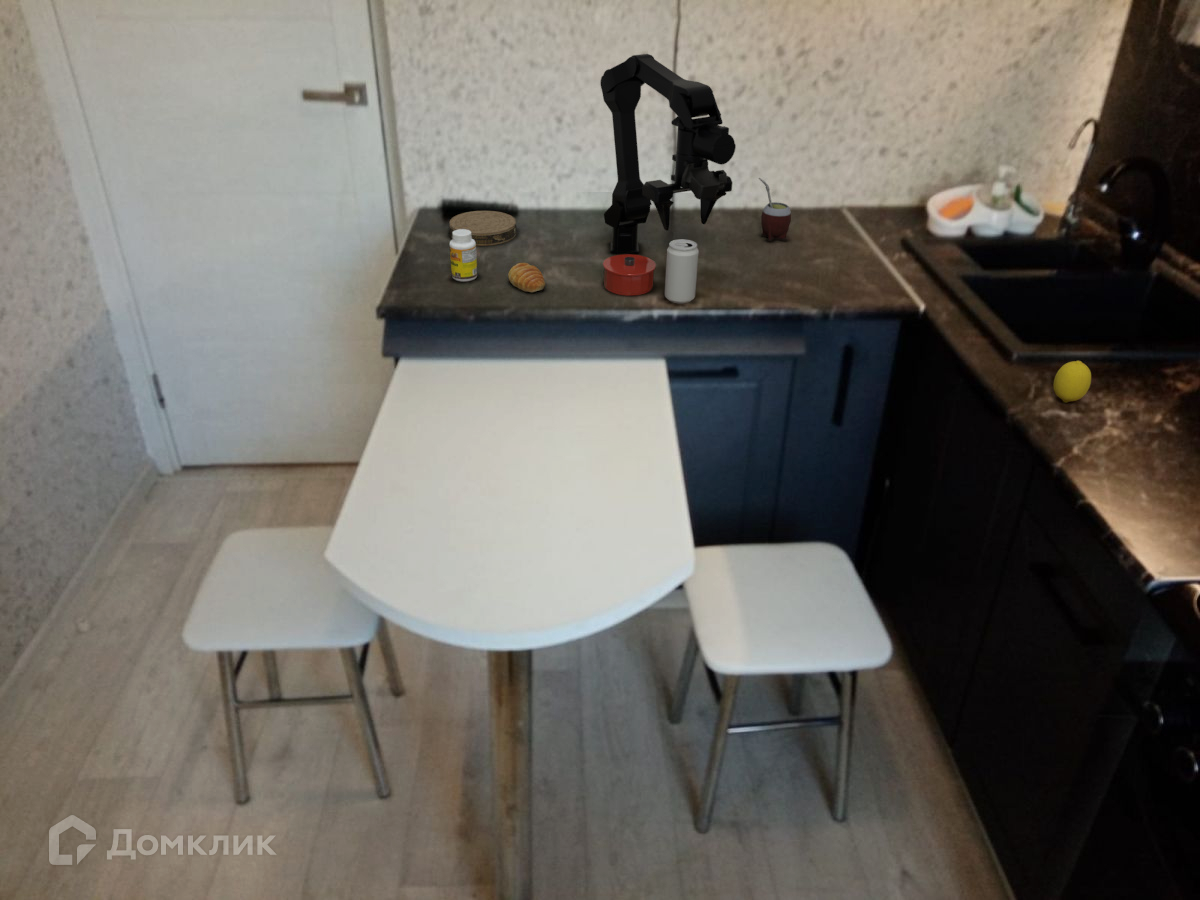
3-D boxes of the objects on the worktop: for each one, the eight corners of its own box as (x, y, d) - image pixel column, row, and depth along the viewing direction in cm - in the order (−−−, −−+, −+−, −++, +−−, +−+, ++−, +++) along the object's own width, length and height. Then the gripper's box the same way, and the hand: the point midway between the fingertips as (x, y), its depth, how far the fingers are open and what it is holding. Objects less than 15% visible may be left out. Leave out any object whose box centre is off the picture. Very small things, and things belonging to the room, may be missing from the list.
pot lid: (597, 260, 197) (597, 251, 196) (646, 256, 199) (647, 247, 198) (610, 280, 188) (611, 270, 187) (662, 276, 190) (663, 266, 189)
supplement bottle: (448, 274, 199) (445, 229, 193) (473, 271, 201) (470, 226, 195) (456, 284, 194) (452, 238, 189) (481, 280, 196) (478, 234, 191)
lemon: (1041, 394, 160) (1055, 353, 155) (1072, 393, 160) (1086, 353, 156) (1057, 410, 155) (1072, 369, 150) (1088, 410, 155) (1104, 368, 151)
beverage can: (692, 306, 187) (697, 250, 181) (662, 303, 188) (665, 247, 182) (696, 294, 193) (701, 239, 186) (666, 291, 194) (669, 236, 187)
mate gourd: (792, 236, 223) (801, 175, 214) (779, 246, 217) (788, 183, 209) (764, 230, 226) (771, 169, 218) (750, 239, 220) (758, 177, 212)
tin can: (480, 217, 229) (480, 206, 228) (529, 232, 222) (529, 220, 220) (436, 235, 218) (435, 223, 217) (485, 250, 211) (485, 238, 209)
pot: (599, 278, 199) (599, 258, 196) (644, 274, 201) (645, 255, 199) (611, 297, 190) (612, 277, 188) (659, 293, 193) (660, 273, 190)
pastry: (553, 290, 193) (553, 273, 191) (524, 297, 190) (524, 280, 188) (532, 275, 199) (532, 258, 197) (504, 281, 196) (504, 264, 194)
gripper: (671, 168, 174) (666, 246, 182) (751, 156, 181) (743, 232, 190) (642, 153, 182) (639, 228, 191) (720, 143, 189) (713, 216, 198)
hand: (684, 227), depth 192 cm, fingers open, 9 cm apart
